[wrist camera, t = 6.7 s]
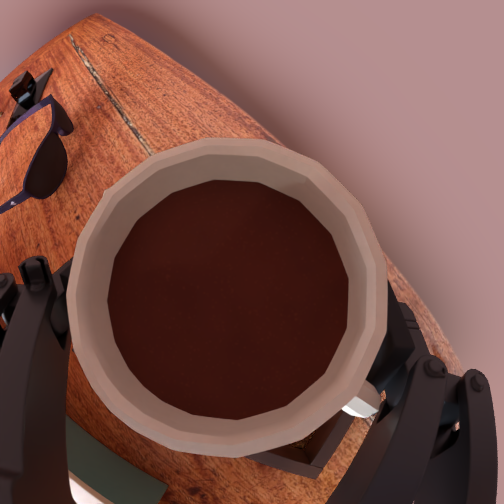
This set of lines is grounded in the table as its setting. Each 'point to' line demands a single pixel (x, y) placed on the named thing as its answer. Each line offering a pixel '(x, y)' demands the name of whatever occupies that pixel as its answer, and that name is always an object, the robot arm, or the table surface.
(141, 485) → the cream square platform
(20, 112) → the build plate
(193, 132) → the table surface
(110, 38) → the table surface
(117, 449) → the table surface
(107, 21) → the table surface
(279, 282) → the character mug
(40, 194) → the sunglasses
